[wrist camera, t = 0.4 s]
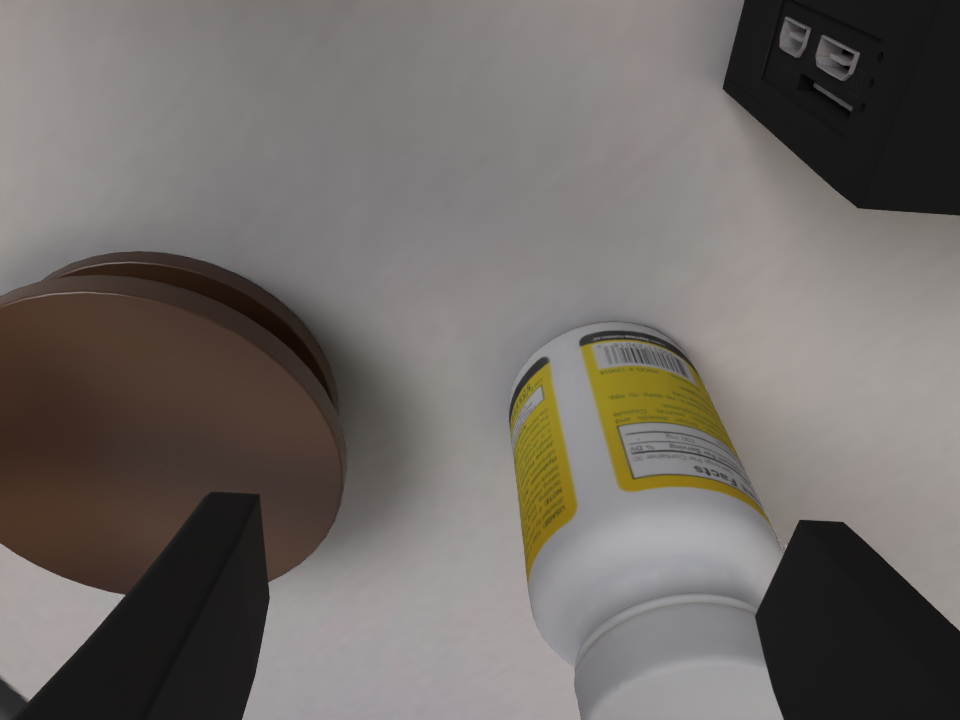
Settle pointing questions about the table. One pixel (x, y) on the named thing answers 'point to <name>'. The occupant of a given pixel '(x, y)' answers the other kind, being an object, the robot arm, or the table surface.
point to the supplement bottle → (640, 530)
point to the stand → (158, 415)
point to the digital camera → (859, 94)
